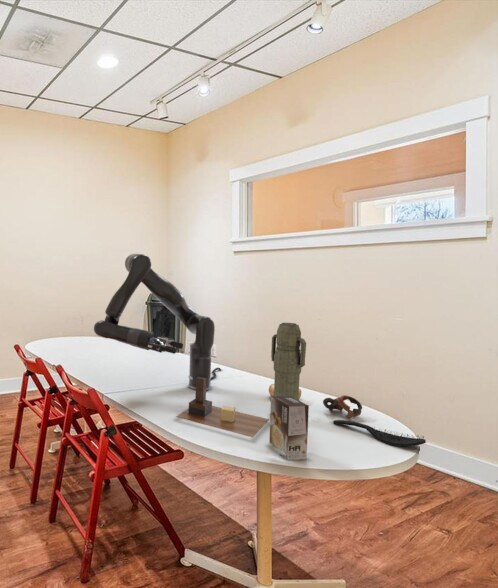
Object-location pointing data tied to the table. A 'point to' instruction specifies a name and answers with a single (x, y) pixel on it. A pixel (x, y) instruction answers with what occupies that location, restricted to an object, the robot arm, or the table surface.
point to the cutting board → (240, 425)
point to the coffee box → (289, 426)
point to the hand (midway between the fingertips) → (179, 348)
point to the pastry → (271, 390)
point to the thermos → (288, 359)
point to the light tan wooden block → (228, 413)
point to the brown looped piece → (343, 405)
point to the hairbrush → (386, 435)
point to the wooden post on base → (200, 400)
